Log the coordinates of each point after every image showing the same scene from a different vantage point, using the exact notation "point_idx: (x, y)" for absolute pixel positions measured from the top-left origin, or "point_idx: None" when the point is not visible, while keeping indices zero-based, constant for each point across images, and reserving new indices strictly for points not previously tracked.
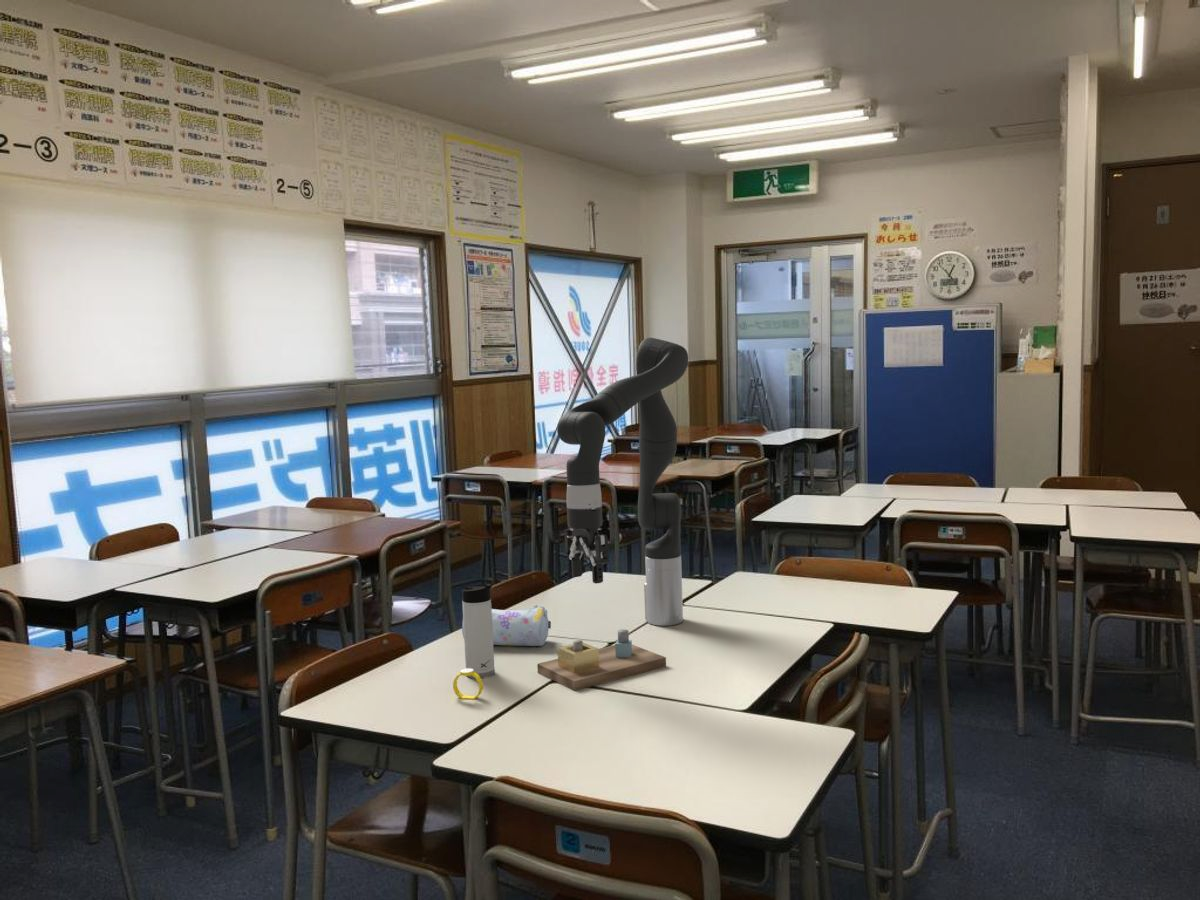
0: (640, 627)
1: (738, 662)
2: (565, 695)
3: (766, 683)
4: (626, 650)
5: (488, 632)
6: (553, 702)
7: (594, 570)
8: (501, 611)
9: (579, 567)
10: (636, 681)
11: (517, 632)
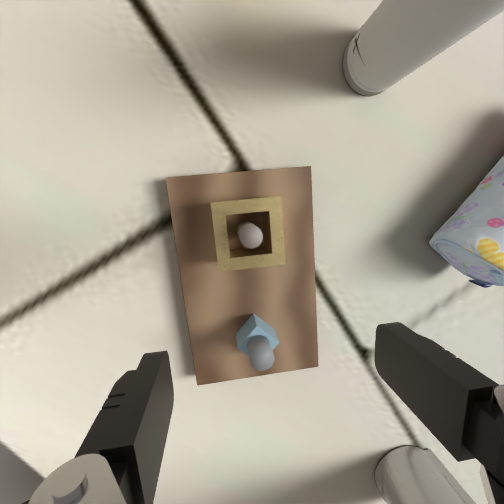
0: (402, 426)
1: None
2: (154, 151)
3: (30, 462)
4: (240, 336)
5: (408, 10)
6: (129, 111)
7: (117, 421)
8: None
9: (412, 393)
10: (154, 298)
11: (479, 200)
